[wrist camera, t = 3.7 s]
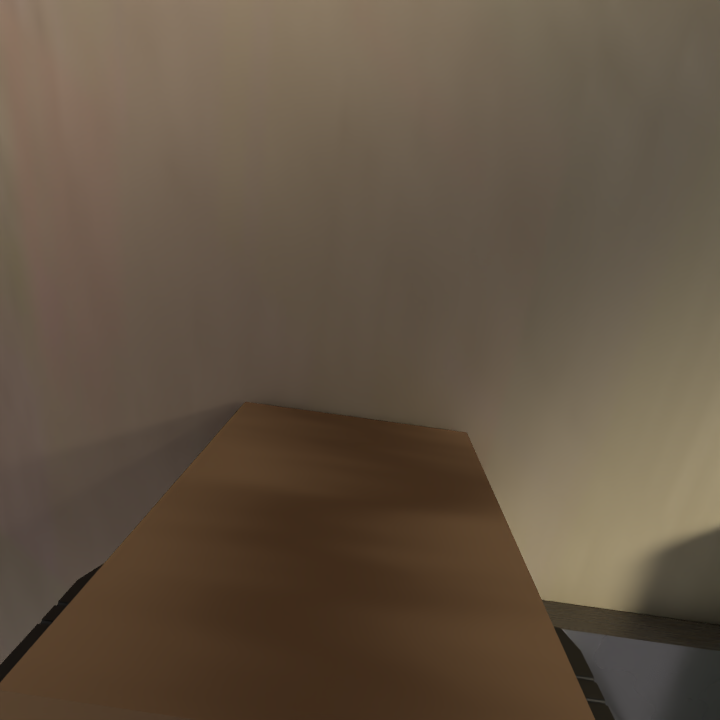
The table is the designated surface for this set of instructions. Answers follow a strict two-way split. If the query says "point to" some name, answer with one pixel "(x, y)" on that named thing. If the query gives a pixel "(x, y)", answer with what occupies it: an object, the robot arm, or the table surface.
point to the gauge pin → (646, 661)
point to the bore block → (309, 591)
